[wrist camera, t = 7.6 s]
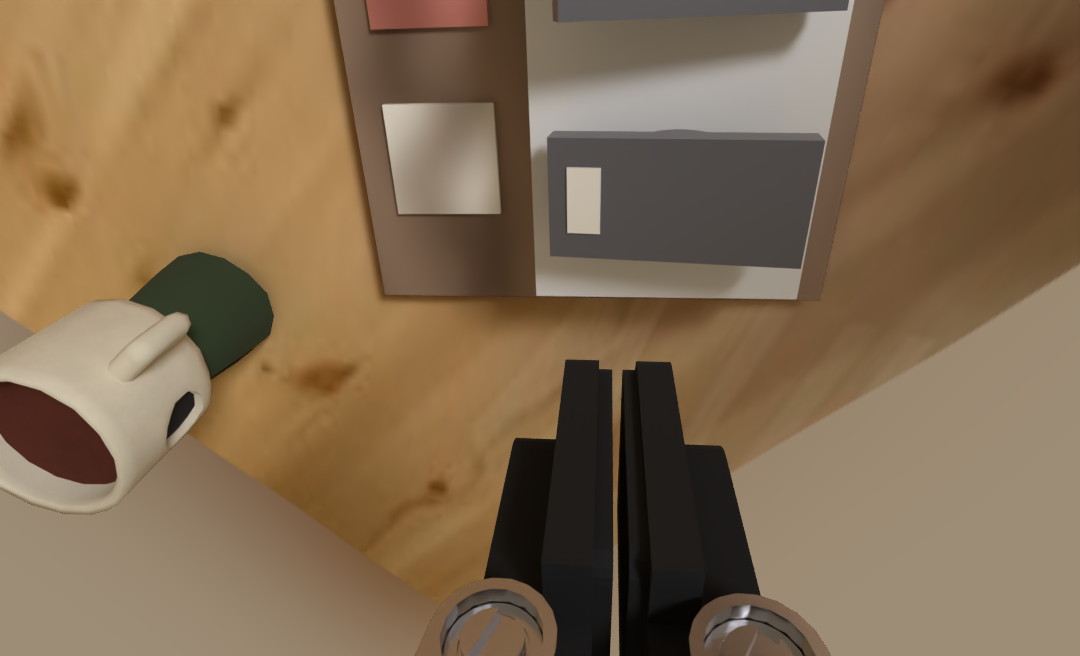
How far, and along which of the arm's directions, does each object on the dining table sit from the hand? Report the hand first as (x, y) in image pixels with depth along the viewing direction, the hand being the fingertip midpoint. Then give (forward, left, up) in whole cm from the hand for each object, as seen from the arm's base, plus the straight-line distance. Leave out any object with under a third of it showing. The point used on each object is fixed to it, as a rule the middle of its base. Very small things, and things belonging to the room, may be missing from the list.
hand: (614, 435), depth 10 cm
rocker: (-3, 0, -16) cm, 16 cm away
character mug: (+22, +8, -21) cm, 31 cm away
